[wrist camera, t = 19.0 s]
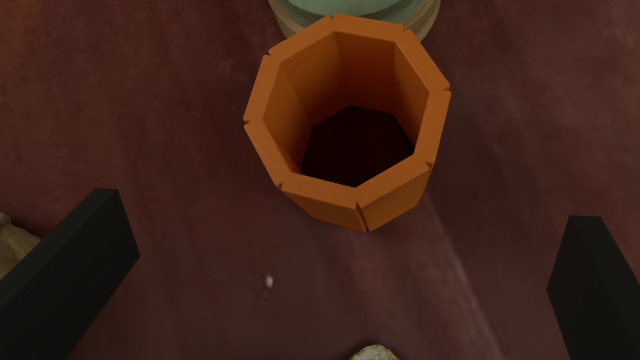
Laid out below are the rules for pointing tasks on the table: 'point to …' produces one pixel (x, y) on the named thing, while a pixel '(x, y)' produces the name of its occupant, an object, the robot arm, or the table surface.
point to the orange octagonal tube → (334, 95)
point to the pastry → (13, 244)
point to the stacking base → (356, 13)
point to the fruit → (374, 353)
